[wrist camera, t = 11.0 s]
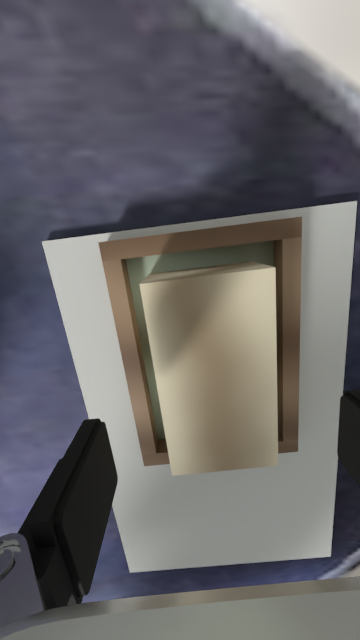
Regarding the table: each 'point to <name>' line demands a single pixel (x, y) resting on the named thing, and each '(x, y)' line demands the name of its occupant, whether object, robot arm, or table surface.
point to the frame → (193, 252)
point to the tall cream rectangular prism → (215, 364)
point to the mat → (233, 485)
